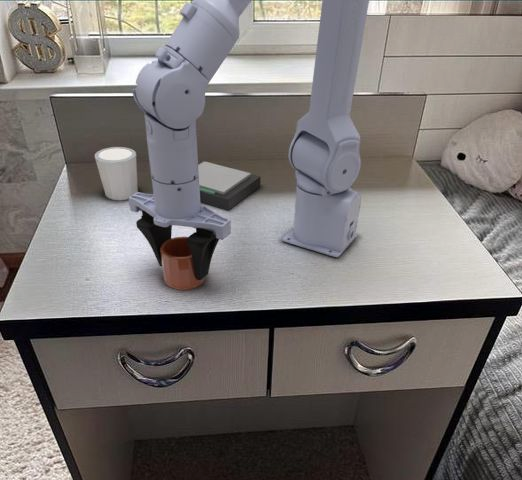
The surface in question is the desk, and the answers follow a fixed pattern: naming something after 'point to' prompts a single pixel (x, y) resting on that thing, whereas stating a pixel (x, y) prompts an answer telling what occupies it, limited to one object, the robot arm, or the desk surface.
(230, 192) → the scale
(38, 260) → the desk surface
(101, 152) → the shot glass
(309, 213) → the robot arm
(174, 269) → the cup
